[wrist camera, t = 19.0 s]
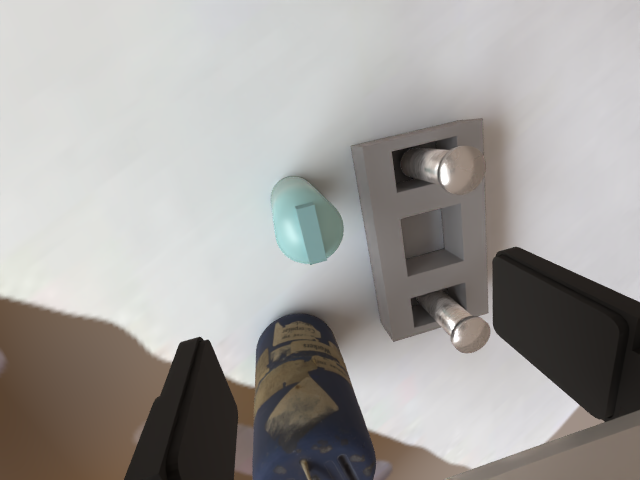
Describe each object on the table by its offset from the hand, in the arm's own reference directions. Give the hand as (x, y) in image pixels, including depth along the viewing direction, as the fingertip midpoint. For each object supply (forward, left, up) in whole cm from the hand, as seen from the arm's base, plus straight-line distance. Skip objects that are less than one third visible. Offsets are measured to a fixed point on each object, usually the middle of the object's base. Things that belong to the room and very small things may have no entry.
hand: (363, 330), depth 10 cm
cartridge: (0, 0, -25) cm, 25 cm away
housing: (+7, +13, -25) cm, 29 cm away
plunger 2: (+15, +13, -23) cm, 31 cm away
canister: (+18, -4, -25) cm, 31 cm away
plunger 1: (-1, +13, -23) cm, 27 cm away
